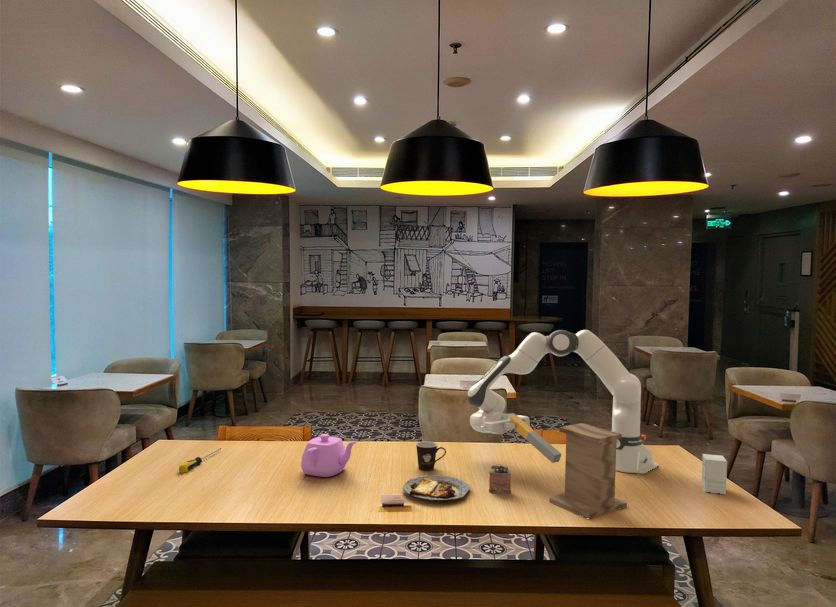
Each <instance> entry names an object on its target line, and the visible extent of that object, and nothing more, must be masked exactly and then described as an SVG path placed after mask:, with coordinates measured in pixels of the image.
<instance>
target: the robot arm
mask: <svg viewBox="0 0 836 607" xmlns="http://www.w3.org/2000/svg"><path fill="white" fill-rule="evenodd" d="M570 353H576V354H577V355H578V356H580V357H581V359H582V360H583V361H584V362H585V364H587V365H588V367H589V368H590V369H591V370H592V371H593V372H594V373H595V374H596V376H598V378H599V379H600V380H601V382H602V383H603V385H604V386H605V387H606V388H607V390H608V391H609V392H610V393H611V395H612V396H613V398H612V411H611V412H612V415H611V416H612V417H611V431H613V432H616V433H620V434H622V438H621V439H617V440H616V471H617V472H622V473H632V474H634V473H635V474H641V475H642V474H647V473H649V472H651V471H652V469H653V470H654V469H657V468H658V467H659V463H657V462H655V461H653V453H652V451H651V450H650V449H649V448H648V447H647V446H645V445H644V444H643V441H646V439H647V435H645V434H642V433H641V403H642V402H641V400H642V399H641V398H642V397H641V396H642V384H641V381H640V379H639V378H638V377H637V375H635V374H633V373H630V371H628V369H627V368H626V367H625V366H624V364H623V363H622V362H621V361H620V359H619V358H618V357H617V356H616V354H614V352H613V351H612V350H611V349H610V348H609V347H608V346H607V345H606V344H605V343H604V342H603V341H602V340H601V339H600V338H599V337H598V336H597V335H596V334H595V333H593V332H592V331H590V330H588V329H582V330H579V331H577V333H573V332H570V331H568V330H564V329H557V330H554V331H553V332H552V333H550V334H549V335H546V336H545V335H544V334H542V333H540V332H537V331H534V332H533V331H532V332H531V333H529V334H528V335H527V336H526V337H525V338H524V339H523V341H521V343H519V345H518V347H517V348H516V349H515V350H513V352H512V353H511V354H509V355H505V356H502V357H501V358H499V360H498V361H496V362H495V363H494V364H493V365H492V366H491V367H490V368H489V369H488V370H487V372H486V373H484V374H483V375H482V377H481V378H479V380H477V381H476V382H475V383H473V384H472V385H471V386H470V387H469V388H468V390H467V394H466V396H467V400H468V403H469V404H470V405H471V406H473V407H475V408H478V409H479V410H477V411H476V412H474V413H472V414H471V415H470V417H469V423H470V427H471V428H472V429H473V430H475V431H476V432H479V433H484V434H493V435H503V434H505V433H507V432H509V431H512V430H515V429H514V428H517V424H516V423H509V422H510V418H511V417H514V416H518V417H519V418H520V419H521V420H523V421H524V422H525V423H526V424H527V425H528V426H530V425H531V421H530V417H529V416H527V415H520V414H519V415H518V414H515V413H514V412H513V413H511V412H510V413H509V412H508V413H506V410H507V402H506V399H505V398H504V397H503V396H502V395H500V394H498V393H497V392H495V391H494V390H492V389H490V387H492V385H493V384H494V383H496V381H497V380H498V379H499V378H500V377H501V376H503V375H504V374H515V375H527V374H530V373H531V372H533V371H534V370H535V368H536V367H537V366H538V364H539V363H540V361H541V360H542V359H543V357H544V356H545V355H547V354H550V355H552V356H555V357H565V356H568V355H569V354H570ZM657 466H658V467H657ZM650 470H651V471H650ZM648 471H649V472H648Z"/></svg>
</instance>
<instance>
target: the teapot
mask: <svg viewBox="0 0 836 607" xmlns="http://www.w3.org/2000/svg"><path fill="white" fill-rule="evenodd" d="M357 443H358V441H350V442H348V443H347V445H346V447H345V445H344V441H343V440H342V439H341V437H336V436H330V434H328V433H322V434H319V436H316V437H313V438H312V439H310V440H309V441H308V442H307V443H306V445H305V448H304V450H303V453H302V456H301V461H300V462H301V463H300V467H301V470H302V471H303V474H306V475H309V476H314V477H319V478H320V477H322V478H323V477H324V478H331V477H332V476H335V475H337V474H340V473H341V472H342V471H343V470H344V469H345V468H346V466H347V464H348V462H349V460H350V458H351V455H352V449H353V446H354V445H355V444H357Z"/></svg>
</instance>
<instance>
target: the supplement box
mask: <svg viewBox="0 0 836 607" xmlns="http://www.w3.org/2000/svg"><path fill="white" fill-rule="evenodd" d="M701 460H702V462H701V464H702V466H701V467H702V468H701V487H702V489H703V491H704V493H708V492H711V493H710V494H717V493H720V495H727V476H728V475H727V474H728V472H727V471H728V470H727V469H728V461H727V459H726V458H725V457H724V455H719V454H708V453H702V458H701Z"/></svg>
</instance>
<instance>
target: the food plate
mask: <svg viewBox="0 0 836 607" xmlns="http://www.w3.org/2000/svg"><path fill="white" fill-rule="evenodd" d="M453 488H455V489H456V490H455V489H453ZM470 489H471V485H470V484H468V483H467V482H466V481H464V480H462V479H460V478H457V477H451V476H449V475H448V476H446V475H421V476H417V477H414V478H410V479H409V480H407V481H406V482H405V483H404V485H402V491H403V492H405V493H406V494H407V495H408V496H410V497H412V498H419V499H422V500H427V501H434V502H435V501H436V502H437V501H438V502H439V501H455V500H458V499H462V498H463V497H465V495H466V494H467V493H468V492H469V491H470Z"/></svg>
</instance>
